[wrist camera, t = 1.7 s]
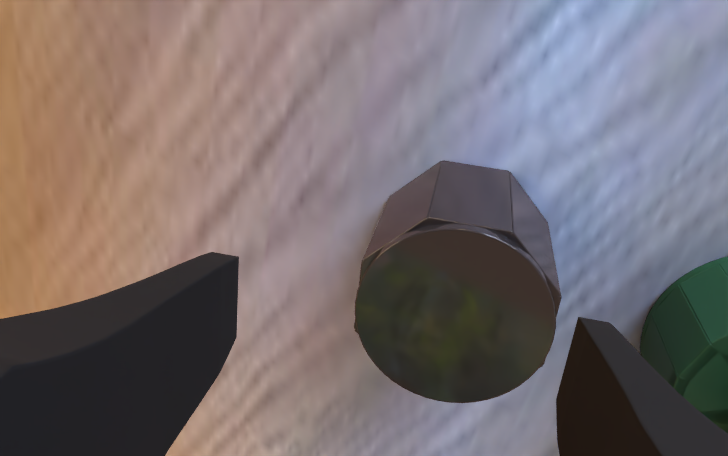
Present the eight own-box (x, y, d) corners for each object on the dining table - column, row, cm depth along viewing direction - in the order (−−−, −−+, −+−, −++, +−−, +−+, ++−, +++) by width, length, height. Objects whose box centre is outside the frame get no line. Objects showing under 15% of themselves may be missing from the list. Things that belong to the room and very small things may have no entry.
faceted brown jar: (559, 178, 22) (578, 248, 17) (525, 321, 24) (532, 420, 19) (394, 152, 22) (365, 212, 17) (376, 293, 25) (345, 382, 20)
